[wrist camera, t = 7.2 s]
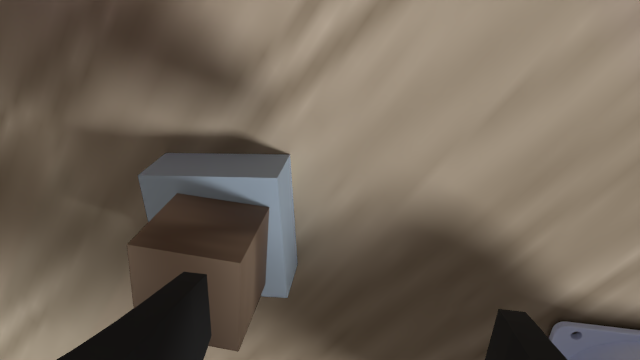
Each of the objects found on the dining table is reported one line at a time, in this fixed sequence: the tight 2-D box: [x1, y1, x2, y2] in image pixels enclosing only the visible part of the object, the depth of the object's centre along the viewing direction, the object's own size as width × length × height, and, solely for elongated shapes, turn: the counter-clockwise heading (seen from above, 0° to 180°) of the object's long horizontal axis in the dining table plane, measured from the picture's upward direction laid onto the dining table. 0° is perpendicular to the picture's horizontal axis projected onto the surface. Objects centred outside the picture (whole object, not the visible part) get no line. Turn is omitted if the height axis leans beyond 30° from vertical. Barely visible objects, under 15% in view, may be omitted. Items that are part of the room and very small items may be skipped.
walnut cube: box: [127, 193, 269, 351], centre depth 18 cm, size 4×4×4 cm
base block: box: [138, 153, 298, 298], centre depth 21 cm, size 6×6×3 cm
